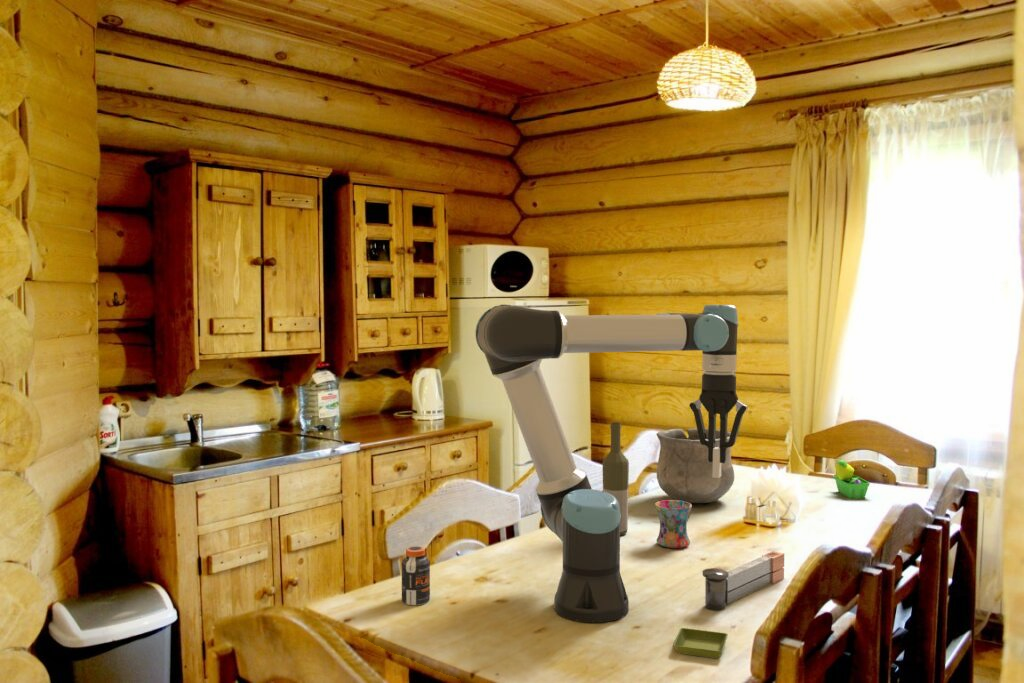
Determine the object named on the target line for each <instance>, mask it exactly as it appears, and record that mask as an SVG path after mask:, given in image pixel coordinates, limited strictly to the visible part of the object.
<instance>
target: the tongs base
mask: <svg viewBox="0 0 1024 683" xmlns="http://www.w3.org/2000/svg"><path fill="white" fill-rule="evenodd" d="M702 576H703V577H704V578H705V586H704V587H705V590H704V591H705V593H704V594H705V595H704V597H705V599H704V600H705V601H704V602H705V605H704V607H705V608H706V609H708V610H709V611H710V610H711V611H716V612H717V611H724V610H725V609H726V605H729V604H731V603H734V602H735V601H737V600H740V599H741V598H744V597H745V596H749V595H750V594H752V593H754V592H756V591H759V590H760V589H762V588H766V587H767V586H768V585H771V584H776V583H778V582H779V581H781V580H783V579H785V568H784V567H782V568H780V569H778V570H776V571H774V572H772V571H771V572H769V573H767V574H765V575H763V576H760V577H758V578H756V579H754V580H752V581H750V582H747V583H745V584H743V585H741V586H739V587H737V588H734V589H732V590H730V591H728V592H727V591H725V589H726V578H728V577H729V573H728V570H725V569H721V568H712V567H711V568H705V569H703V570H702Z"/></svg>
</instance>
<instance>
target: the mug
mask: <svg viewBox="0 0 1024 683" xmlns="http://www.w3.org/2000/svg"><path fill="white" fill-rule="evenodd" d="M654 506H655V509H656V512H657V514H658V517H659V518H658V519H659V533H658V536H657V539H656V543H657V544H658V545H660V546H662V547H664V548H668V549H680V548H681V549H682V548H684V547H687V546H689V545H690V544H691V540H690V539H689V536H688V530H687V525H688V521H689V519H690V516H691V513H692V506H693V505H692V503H688V502H685V501H679V500H676V499H664V500H658V501H656V502H655V503H654Z"/></svg>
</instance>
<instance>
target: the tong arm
mask: <svg viewBox="0 0 1024 683" xmlns="http://www.w3.org/2000/svg"><path fill="white" fill-rule="evenodd" d="M784 567H785V553H783V552H779V551H775V550H772V551H770V552H767V553H765V554H762V555H761V557H758V558H756V559H754V560H751V561H749V562H747V563H743V564H742V565H739V566H738V567H735V568H732V569H731V570H727V572H728V573H729V577H728V578H726V589H725V591H727V592H728V591H730V590H732V589H734V588H737V587H739V586H741V585H743V584H745V583H747V582H750V581H752V580H754V579H756V578H758V577H760V576H763V575H765V574H767V573H769V572H771V571H772V572H774V571H776V570H778V569H780V568H784Z"/></svg>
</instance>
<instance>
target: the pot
mask: <svg viewBox="0 0 1024 683" xmlns="http://www.w3.org/2000/svg"><path fill="white" fill-rule="evenodd" d="M705 431H706V436H707V439H708V428H705ZM686 433H687V435H688V436H687V435H686ZM686 433H685V431H684V429H682V428H671V429H665V430H662V431H658V432H657V433H656V435H655V436H657V439H658V440H659V445H660V447H659V453H658V460H657V468H656V479H657V483H658V486H659V487H660V489H661V490H662V491H663V492H664V493H665V494H666V495H667V496H669V497H670V498H672V499H673V500H679V501H685V502H688V503H690V504H708V503H712V502H716V501H718V500H719V499H721V498H722V497H723V496H725V495H726V494H727V493H728V492H729V491H730V489H731V488H732V486H733V485H734V483H735V470H734V467H733V464H732V454H731V453H732V451H731V450H732V449H731V448H732V447H728V448H727V450H726V462H725V463H721V477H720V478H713V477H712V473H713V462H709V460H708V447H707V446H705V445H702V444H701V443H700V439H699V435H698V430H697V427H694V428H687V429H686ZM730 434H731V431H727V441H729V438H730ZM715 444H716V445H715V447H720V429H716V440H715Z"/></svg>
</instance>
